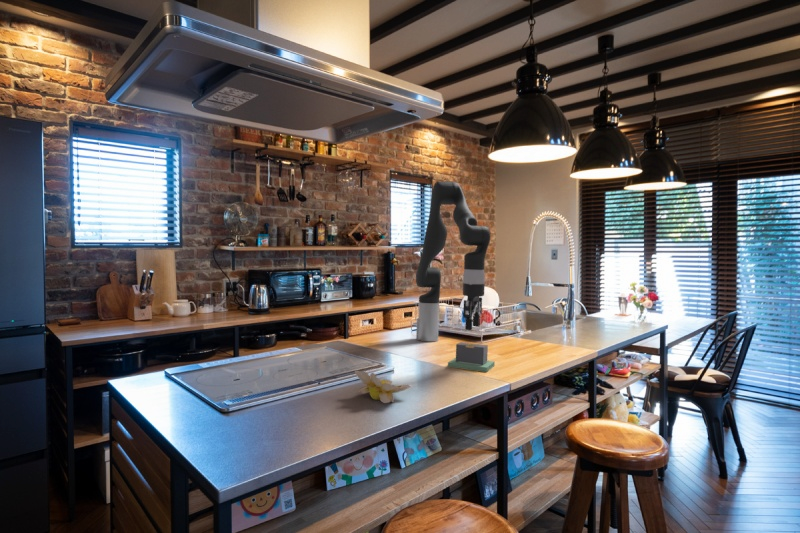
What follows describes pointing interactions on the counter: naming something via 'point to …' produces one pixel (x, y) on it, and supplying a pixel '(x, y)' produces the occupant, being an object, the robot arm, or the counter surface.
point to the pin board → (471, 365)
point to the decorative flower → (379, 387)
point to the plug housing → (471, 353)
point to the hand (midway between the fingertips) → (472, 328)
